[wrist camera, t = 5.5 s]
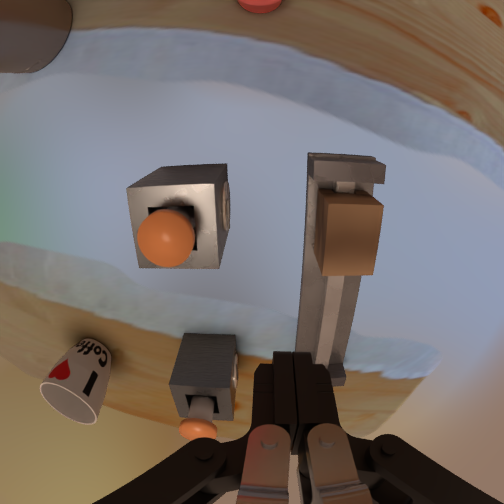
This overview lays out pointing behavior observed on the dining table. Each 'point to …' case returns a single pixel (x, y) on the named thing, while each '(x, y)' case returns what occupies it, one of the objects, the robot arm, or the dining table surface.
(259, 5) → the figurine
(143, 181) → the cabinet
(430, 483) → the robot arm
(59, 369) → the cup
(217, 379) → the cabinet
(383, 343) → the dining table surface
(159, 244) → the plunger
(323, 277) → the rail
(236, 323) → the dining table surface
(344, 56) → the dining table surface
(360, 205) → the carriage
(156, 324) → the dining table surface
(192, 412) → the plunger
